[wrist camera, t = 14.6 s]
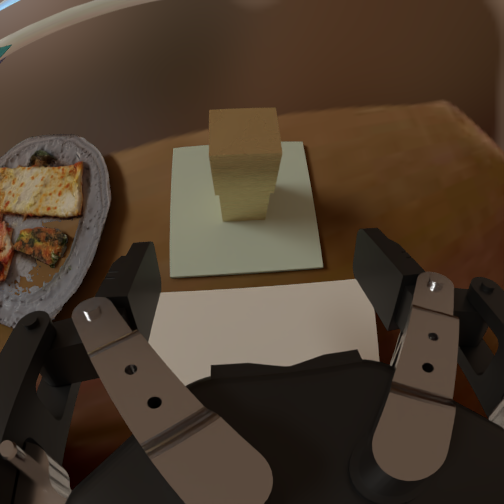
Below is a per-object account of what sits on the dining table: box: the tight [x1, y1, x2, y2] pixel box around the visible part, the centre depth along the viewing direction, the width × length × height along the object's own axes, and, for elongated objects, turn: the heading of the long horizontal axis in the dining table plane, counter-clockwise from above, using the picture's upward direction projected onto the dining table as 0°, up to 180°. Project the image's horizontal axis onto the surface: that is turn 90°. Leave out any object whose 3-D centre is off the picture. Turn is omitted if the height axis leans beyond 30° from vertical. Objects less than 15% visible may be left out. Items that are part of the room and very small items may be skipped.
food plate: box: [0, 134, 111, 329], centre depth 28 cm, size 25×23×4 cm
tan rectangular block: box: [209, 108, 282, 222], centre depth 24 cm, size 5×4×11 cm
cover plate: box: [148, 279, 379, 386], centre depth 23 cm, size 20×20×4 cm
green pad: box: [170, 142, 323, 278], centre depth 30 cm, size 14×14×1 cm
